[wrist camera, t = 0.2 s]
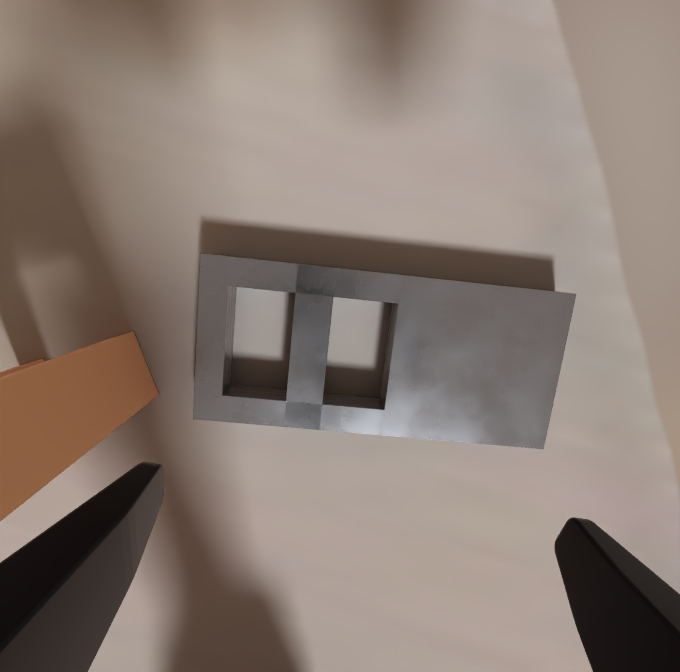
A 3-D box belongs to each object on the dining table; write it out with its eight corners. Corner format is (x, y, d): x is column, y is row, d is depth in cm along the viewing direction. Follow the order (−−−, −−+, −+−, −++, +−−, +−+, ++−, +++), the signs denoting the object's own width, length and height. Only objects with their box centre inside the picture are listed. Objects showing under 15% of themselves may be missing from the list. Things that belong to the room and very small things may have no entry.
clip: (133, 331, 23) (-103, 416, 10) (158, 394, 24) (-33, 547, 11) (19, 365, 23) (-353, 492, 11) (47, 427, 24) (-268, 616, 11)
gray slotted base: (555, 291, 24) (576, 293, 22) (526, 434, 25) (543, 449, 23) (211, 254, 23) (200, 253, 21) (203, 406, 24) (193, 419, 22)
